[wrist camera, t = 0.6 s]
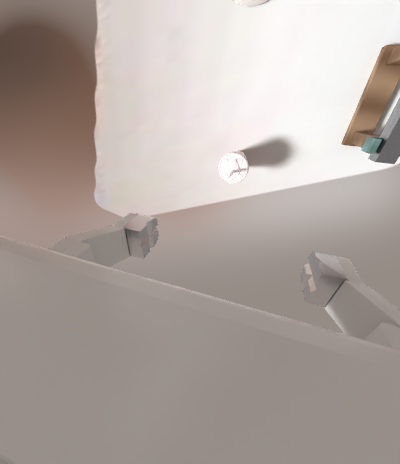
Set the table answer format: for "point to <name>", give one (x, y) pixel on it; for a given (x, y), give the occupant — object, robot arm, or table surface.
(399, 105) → the rail
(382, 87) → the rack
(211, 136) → the table surface
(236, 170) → the smoothie
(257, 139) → the table surface
